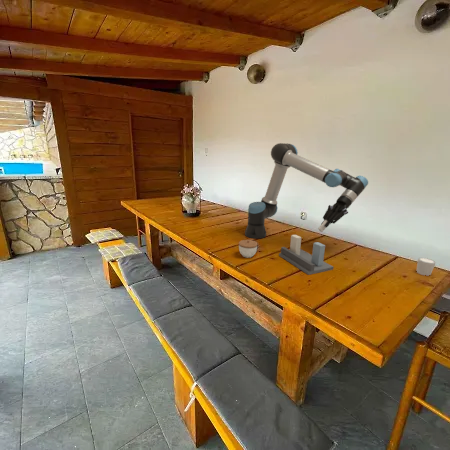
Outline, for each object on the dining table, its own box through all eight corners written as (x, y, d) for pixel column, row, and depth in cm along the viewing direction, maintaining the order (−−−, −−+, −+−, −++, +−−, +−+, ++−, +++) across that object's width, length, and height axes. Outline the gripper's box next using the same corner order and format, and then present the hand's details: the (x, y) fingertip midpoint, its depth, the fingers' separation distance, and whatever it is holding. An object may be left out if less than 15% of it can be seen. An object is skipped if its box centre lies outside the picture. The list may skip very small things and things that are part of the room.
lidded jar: (241, 260, 134) (242, 244, 132) (236, 252, 144) (236, 237, 142) (259, 258, 137) (260, 242, 134) (252, 251, 147) (253, 236, 144)
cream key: (289, 253, 140) (291, 235, 137) (293, 252, 141) (295, 234, 138) (295, 256, 135) (296, 238, 132) (299, 255, 137) (301, 237, 133)
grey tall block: (311, 262, 129) (313, 242, 126) (315, 261, 130) (318, 242, 127) (317, 266, 124) (320, 246, 121) (322, 265, 125) (325, 245, 122)
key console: (278, 255, 141) (279, 247, 140) (301, 251, 147) (302, 243, 146) (308, 274, 119) (309, 265, 118) (333, 269, 125) (334, 260, 124)
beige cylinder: (415, 268, 127) (418, 256, 125) (432, 272, 123) (435, 260, 121) (414, 273, 122) (417, 260, 120) (432, 277, 118) (435, 264, 116)
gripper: (358, 205, 134) (331, 237, 133) (340, 201, 146) (314, 231, 144) (353, 196, 131) (325, 229, 129) (334, 193, 142) (308, 223, 141)
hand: (319, 230), depth 137 cm, fingers closed
